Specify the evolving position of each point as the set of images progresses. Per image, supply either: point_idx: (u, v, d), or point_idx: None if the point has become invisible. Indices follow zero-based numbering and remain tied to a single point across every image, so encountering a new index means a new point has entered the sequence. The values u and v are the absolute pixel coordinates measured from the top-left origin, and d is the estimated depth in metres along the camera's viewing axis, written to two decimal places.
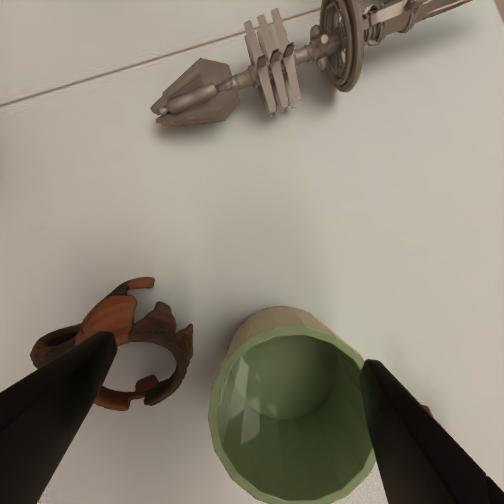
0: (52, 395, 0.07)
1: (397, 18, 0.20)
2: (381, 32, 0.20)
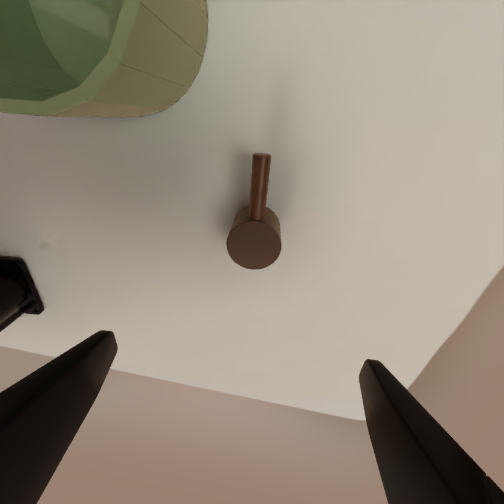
0: (52, 395, 0.07)
1: None
2: None
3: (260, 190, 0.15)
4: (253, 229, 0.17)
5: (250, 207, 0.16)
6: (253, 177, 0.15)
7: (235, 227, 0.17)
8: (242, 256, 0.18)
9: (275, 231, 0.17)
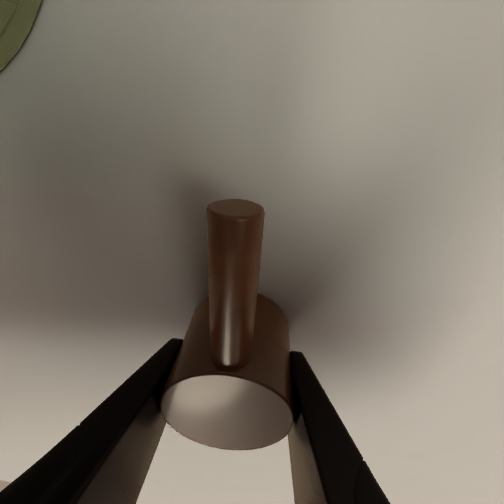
0: (147, 406, 0.06)
1: None
2: None
3: (234, 308, 0.05)
4: (222, 388, 0.06)
5: (211, 338, 0.06)
6: (212, 273, 0.05)
7: (175, 382, 0.06)
8: (201, 430, 0.07)
9: (279, 394, 0.06)
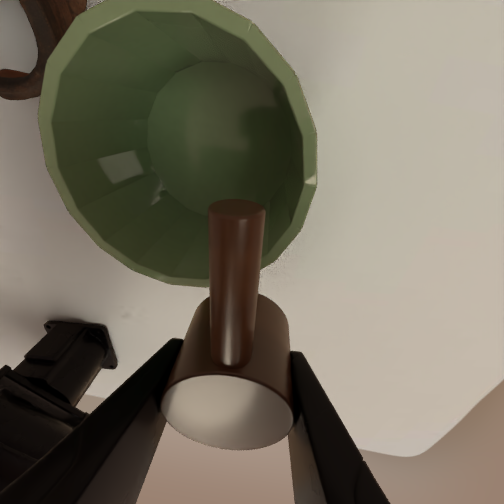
0: (147, 406, 0.06)
1: None
2: None
3: (235, 308, 0.05)
4: (223, 388, 0.06)
5: (212, 338, 0.06)
6: (213, 273, 0.05)
7: (176, 382, 0.06)
8: (201, 430, 0.07)
9: (280, 394, 0.06)
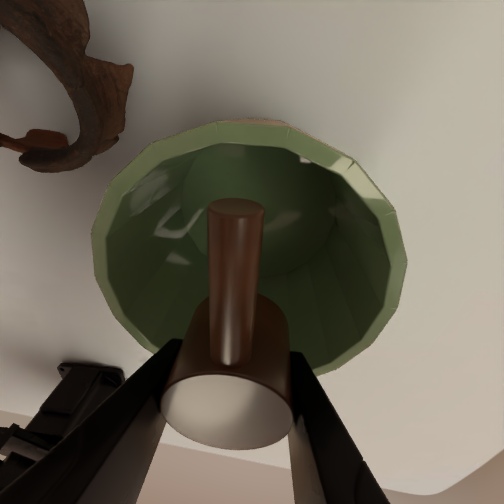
0: (147, 406, 0.06)
1: None
2: None
3: (234, 307, 0.05)
4: (223, 388, 0.06)
5: (211, 337, 0.06)
6: (212, 272, 0.05)
7: (175, 381, 0.06)
8: (200, 430, 0.07)
9: (279, 393, 0.06)
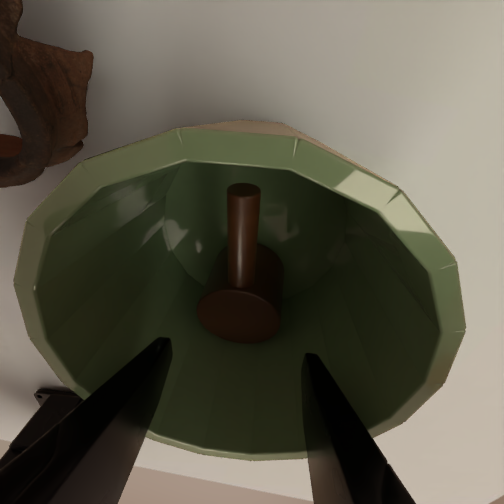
0: (130, 404, 0.06)
1: None
2: None
3: (242, 249, 0.09)
4: (235, 300, 0.10)
5: (229, 269, 0.10)
6: (229, 228, 0.08)
7: (206, 295, 0.10)
8: (222, 328, 0.12)
9: (270, 305, 0.10)
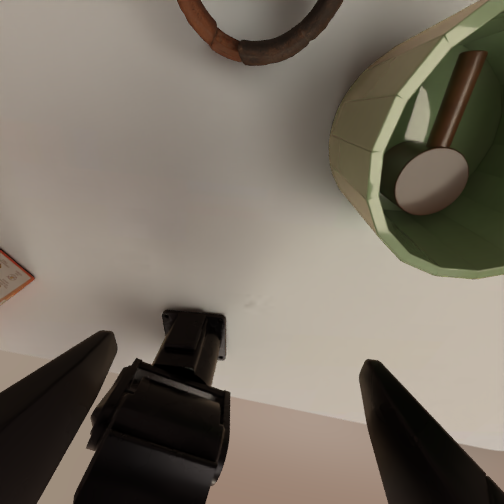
0: (52, 395, 0.07)
1: None
2: None
3: (463, 103, 0.12)
4: (439, 158, 0.13)
5: (438, 130, 0.13)
6: (457, 85, 0.12)
7: (414, 157, 0.13)
8: (411, 197, 0.14)
9: (466, 161, 0.13)
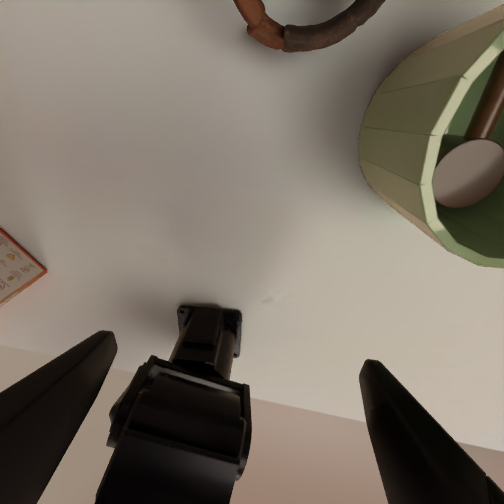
0: (52, 395, 0.07)
1: None
2: None
3: None
4: (477, 150, 0.13)
5: (478, 121, 0.13)
6: (501, 75, 0.12)
7: (453, 148, 0.13)
8: (447, 190, 0.14)
9: None
